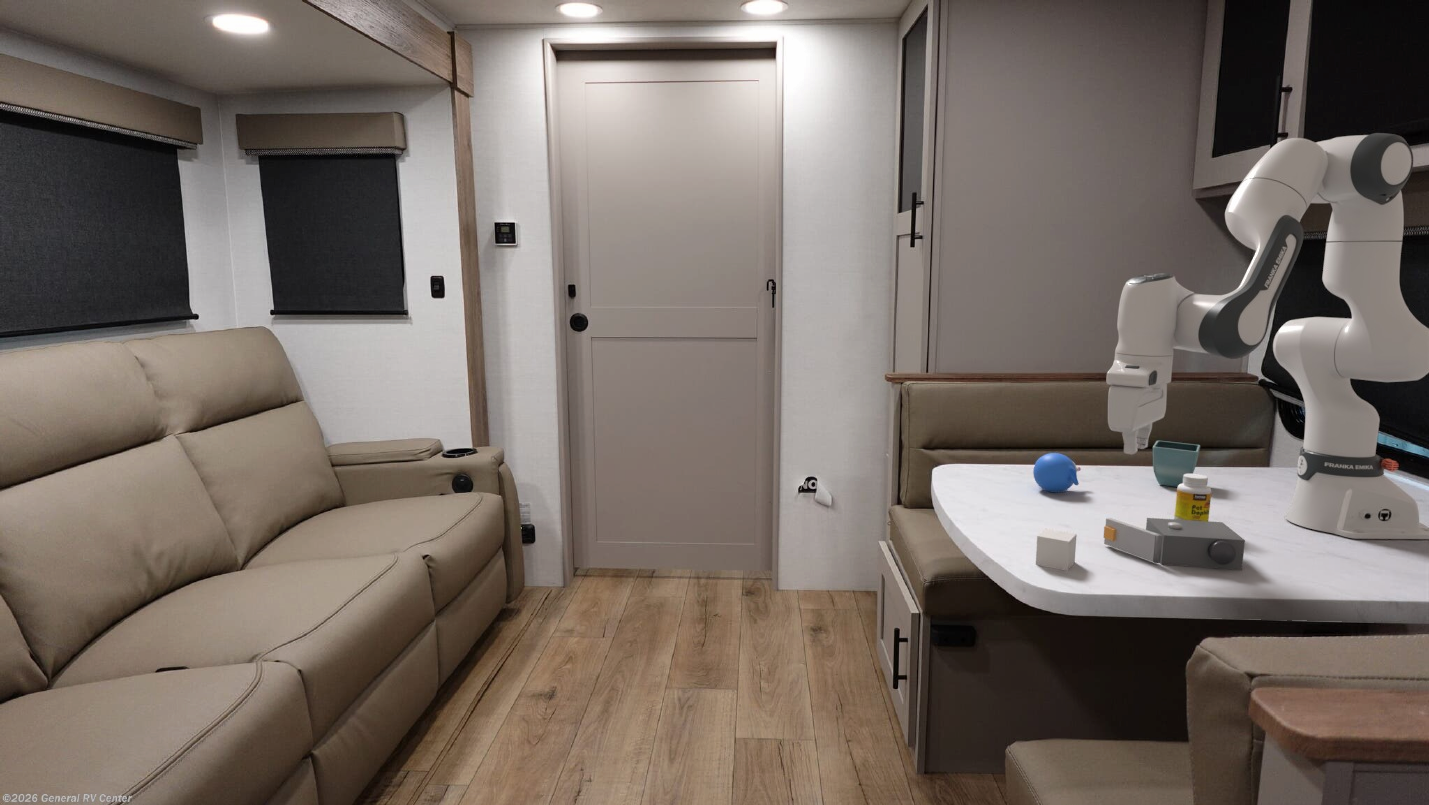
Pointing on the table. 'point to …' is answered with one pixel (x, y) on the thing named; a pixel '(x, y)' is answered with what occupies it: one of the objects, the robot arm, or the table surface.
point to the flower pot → (1173, 461)
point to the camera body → (1198, 543)
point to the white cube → (1056, 549)
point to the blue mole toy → (1055, 472)
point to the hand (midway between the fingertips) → (1135, 450)
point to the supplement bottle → (1193, 498)
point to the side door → (1133, 540)
